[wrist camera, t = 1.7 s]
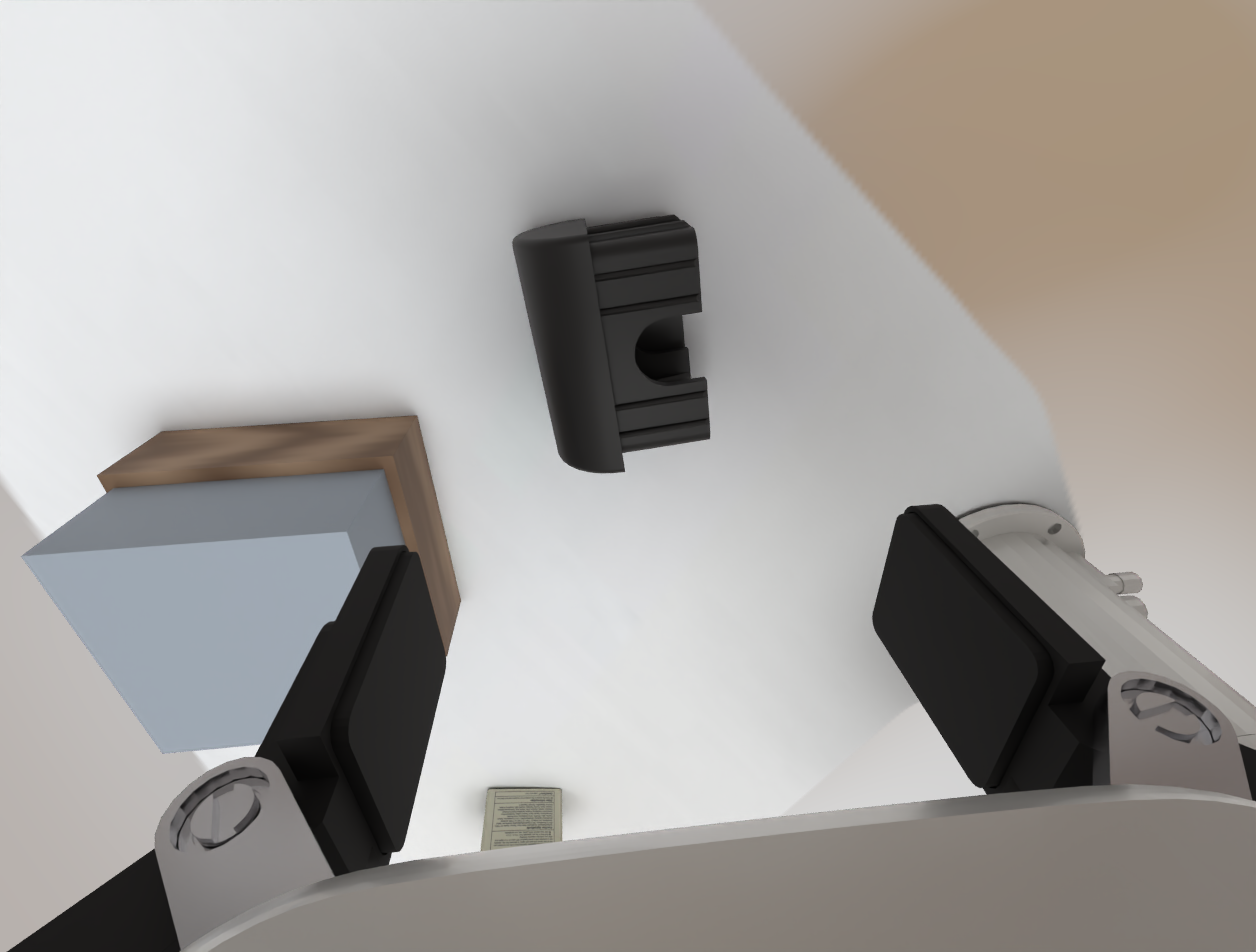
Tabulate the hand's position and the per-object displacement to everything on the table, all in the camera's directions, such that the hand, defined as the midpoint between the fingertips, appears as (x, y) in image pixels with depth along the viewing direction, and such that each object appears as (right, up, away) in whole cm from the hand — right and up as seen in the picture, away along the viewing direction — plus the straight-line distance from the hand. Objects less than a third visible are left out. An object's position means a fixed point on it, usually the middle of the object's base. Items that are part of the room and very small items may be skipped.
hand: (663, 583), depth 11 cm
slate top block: (-18, -3, +18) cm, 25 cm away
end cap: (-2, +10, +18) cm, 20 cm away
